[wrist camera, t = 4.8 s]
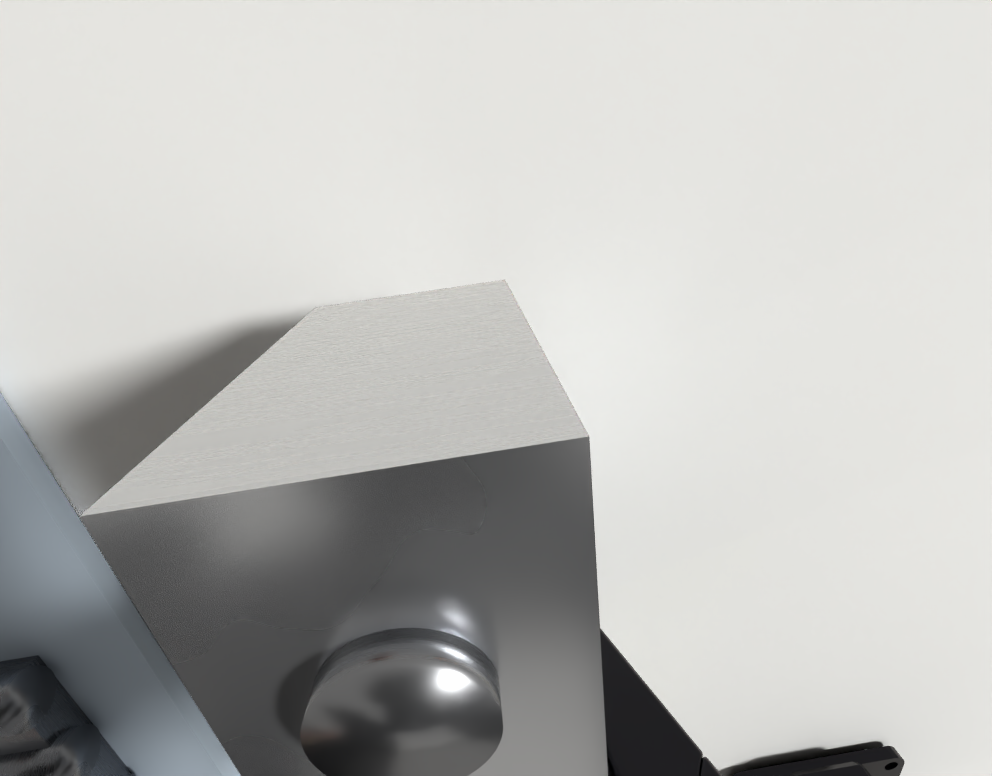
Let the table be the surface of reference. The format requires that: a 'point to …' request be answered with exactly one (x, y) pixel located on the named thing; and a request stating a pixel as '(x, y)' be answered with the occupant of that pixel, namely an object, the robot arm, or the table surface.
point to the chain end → (48, 727)
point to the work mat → (89, 625)
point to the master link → (378, 549)
